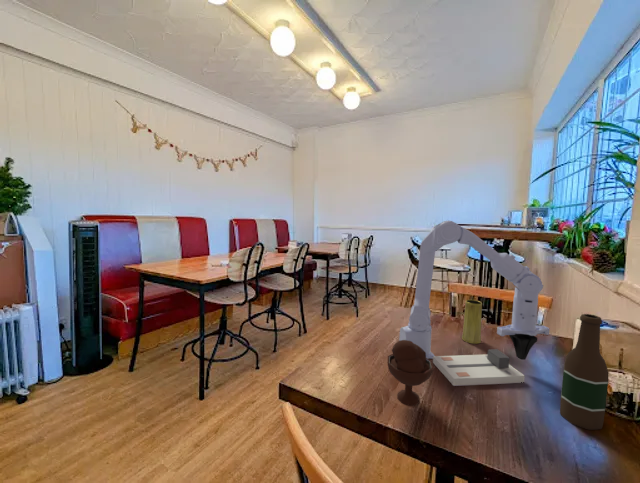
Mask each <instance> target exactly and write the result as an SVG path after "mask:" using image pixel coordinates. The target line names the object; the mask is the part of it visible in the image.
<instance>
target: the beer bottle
mask: <svg viewBox="0 0 640 483" xmlns="http://www.w3.org/2000/svg"><path fill="white" fill-rule="evenodd" d="M579 319H580V321H581V323H580V327H579V331H578V338H577V342H576V345H575V347H574V348H572V349H571V350H569V352H568V353H567V354H566V356H565V359H564V363H563V374H562V380H561V381H562V383H561V391H560V393H561V394H560V404H559V406H560V408H559V414H560V416H561V417H562V418H564V419H565V420H566V421H568V422H569V423H570V424H571V425H573V426H577V427H579V428H582V429H586V430H589V431H592V430H593V431H594V430H596V431H597V430H602V429H603V425H604V421H605V413H606V404H607V397H608V396H607V395H608V388H609V369H608V365H607V363H606V360H605V359H604V358H603V355H602V354H601V350H600V341H601V325H603V320H602V317H600V316H598V315H596V314H590V313H582V314H581V315H580V317H579Z"/></svg>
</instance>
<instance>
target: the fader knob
mask: <svg viewBox="0 0 640 483" xmlns="http://www.w3.org/2000/svg"><path fill="white" fill-rule="evenodd" d="M487 354H488V355H487V359H488V360H489V361H490V362H491V363H493V364H494V365H495V366H497V367H498V368H509V365H510V357H509V356H508V355H507V354H505V353H504V352H502V351H501V350H499V349H497V348H496V349H495V348H494V349H493V348H492V349H491V348H490V349H487Z"/></svg>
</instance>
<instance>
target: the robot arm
mask: <svg viewBox="0 0 640 483" xmlns="http://www.w3.org/2000/svg"><path fill="white" fill-rule="evenodd" d="M455 242H456V243H457V242H458V244H460V245H468V246H470V247H471V248H473V249H474V250H475V251H476V252H478V253H479V254H480V255H482V257H483V256H484V257H485V258H486V259H487V260H489V261H490V266H491V268H492V269H493V270H494V271H495V272H496V273H498V275H500V276H502V277H504V278H505V279H506V281H508V282H509V283H512V284H513V285H514V293H513V294H514V295H513V303H512V315H511V324H508V325H503V326H497V329H496V334H497V335H499V336H500V337H505V336H509V338H510V340H511V342H512V343H513V347H514V351H515V356H516V357H517V359H520V360H521V361H523V360H525V361H526V359H527V357H528V354H529V352H530V351H531V349H532V347H533V346H534V345H535V344H536V343H537V342H538V337H537V335H541V334H542V335H543V334H544V335H546V336H547V335H550V328H549V327H548V326H545V325H538V324H537V318H538V317H537V316H538V306H539V293H541V292H542V291H543V289H544V285H543V282H542V280H541V278H540V277H539V276H538V275H537V274H535V273H534V272H532V271H531V268H530V267H529V266H527V265H525V266H524V265H523V264H522V263H520V262H519V261H518V260H517V259H516V256H515V255H513V254H512V253H511V254H510V253H509V254H508V253H507V252H498V251H496V249H494V248H492V246H490V245H489V244H488V243H486V242H485V241H484V240H483V239H481V238H480V237H479V236H478V235H476V233H474V232H472V231H470V230H468V229H466V228H465V227H464V226H461V225H459V224H457V223H456V222H454V221H453V220H443V221H442V222H440V223H438V224H436V225H435V226H434V227H433V228H432V229H431V230H430V232H429V233H428V234H427V235H426V236H425V237H424V238H423V239H422V241H421V243H420V247H419V249H420V250H419V255H418V256H419V257H418V267H417V274H416V276H417V277H416V286H415V295H414V301H413V303H414V304H412V306H411V308H410V314H409V318H408V323H407V325H406V326H402V327H400V329H399V336H398V338H399V340H398V341H401V340H407V341H411V342H413V343H414V344H416V345H418V346H419V347H421V348H422V349H423V350H424V351H425V352H426V358H427V359H429V360H430V359H432V360H433V356H435V354H434V353H433V352H432V351H431V350H432V348H431V346H432V328H433V327H432V325H431V321H432V320H431V315H432V314H431V312H432V311H431V309H430V299H431V293H432V292H431V291H432V284H433V283H432V282H433V275H434V265H435V257H436V256H435V255H436V252H437V251H438V250H440V249H442V248H443V247H444V246H447V245H451V244H453V243H455Z"/></svg>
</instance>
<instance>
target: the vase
mask: <svg viewBox="0 0 640 483" xmlns="http://www.w3.org/2000/svg"><path fill="white" fill-rule="evenodd" d="M482 311H483V303H482V301H480V300H476V299H466V300H465V303H464V316H463V328H462V336H461V338H462V340H463V341H464V342H465V343H469V344H471V345H472V344H473V345H475V344H477V345H478V344H480V343H481V342H482V338H481V336H482V334H481V332H482Z"/></svg>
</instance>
